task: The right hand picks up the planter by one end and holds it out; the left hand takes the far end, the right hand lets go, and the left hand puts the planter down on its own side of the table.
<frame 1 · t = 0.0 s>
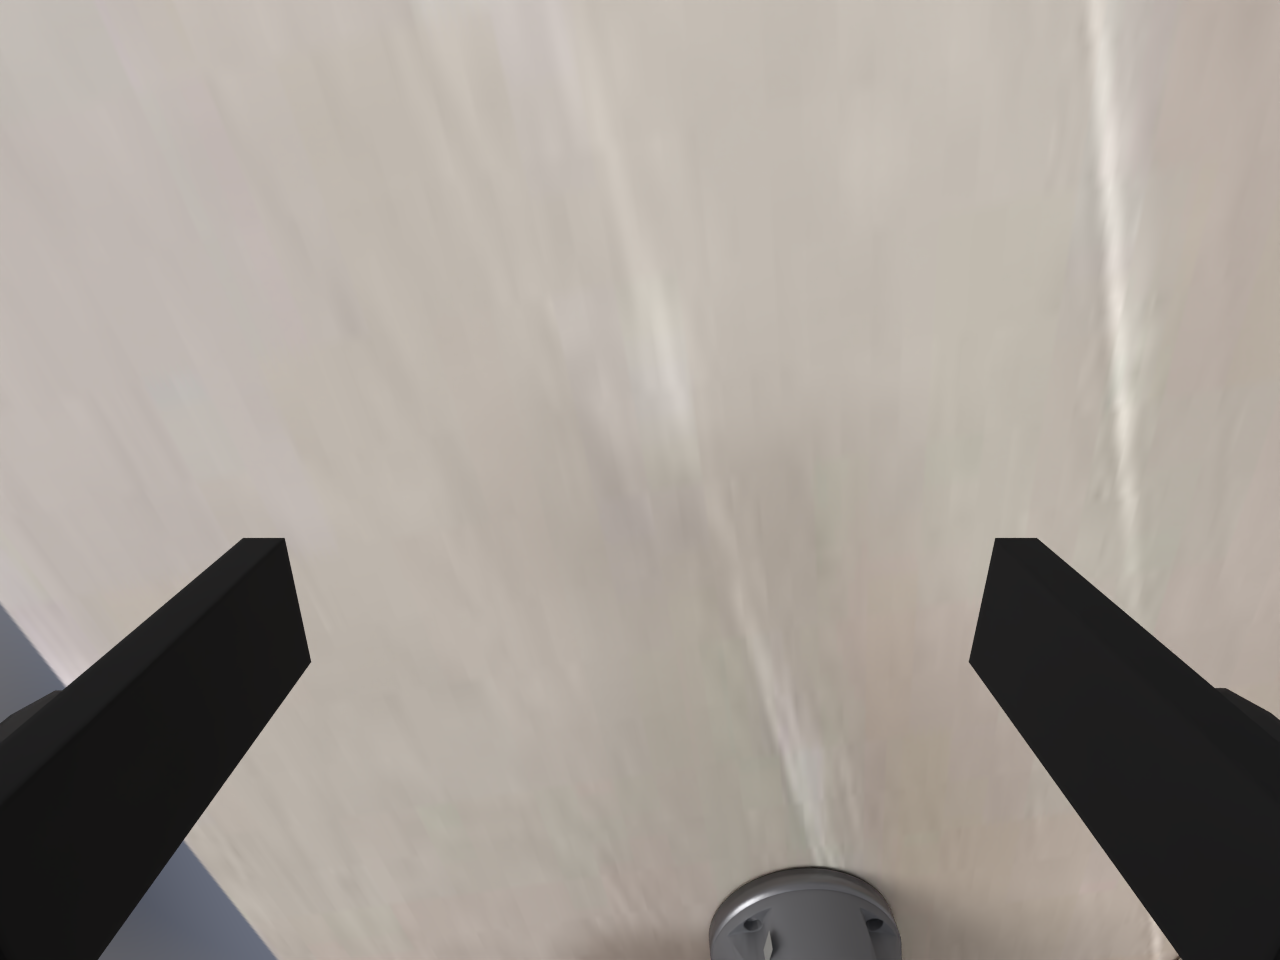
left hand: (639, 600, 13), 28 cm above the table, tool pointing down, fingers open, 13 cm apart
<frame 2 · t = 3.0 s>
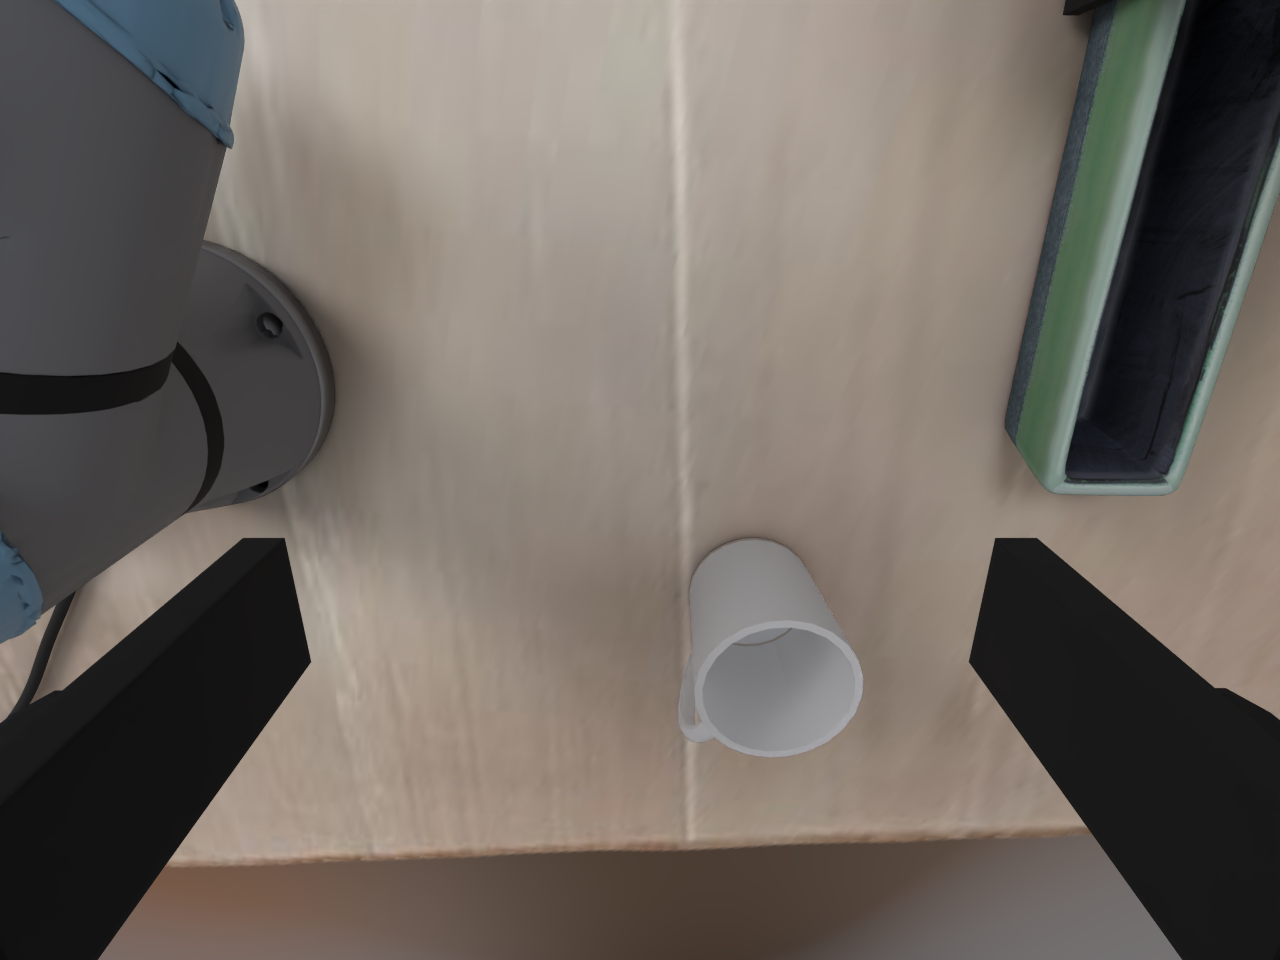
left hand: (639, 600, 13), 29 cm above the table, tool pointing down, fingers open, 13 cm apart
planter: (1096, 211, 37), on the table, touching right hand
mug: (736, 597, 46), on the table
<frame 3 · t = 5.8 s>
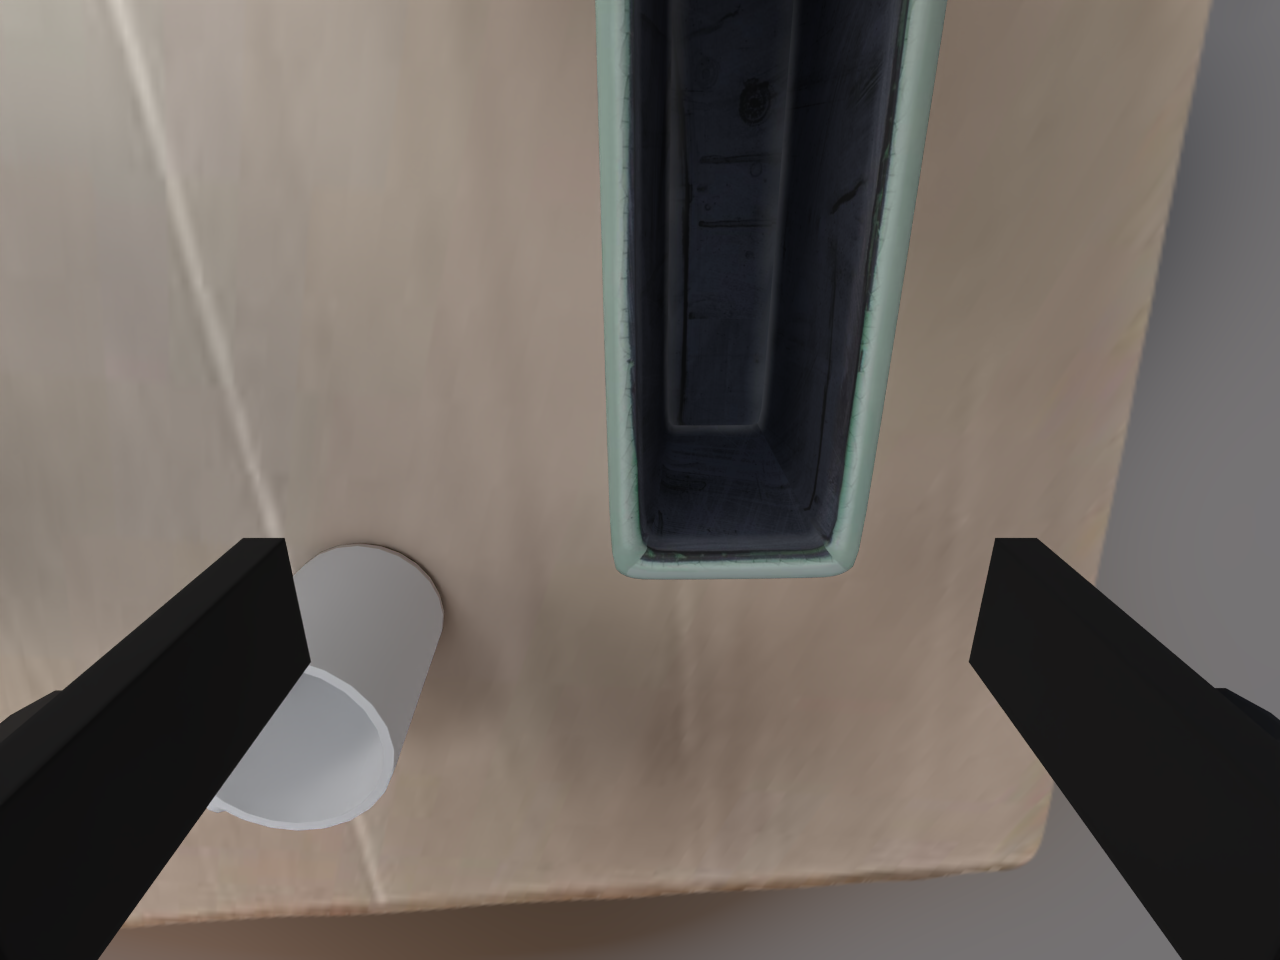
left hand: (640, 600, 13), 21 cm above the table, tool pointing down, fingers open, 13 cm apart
planter: (727, 56, 20), point 9 cm above the table, touching right hand
mug: (359, 616, 38), on the table
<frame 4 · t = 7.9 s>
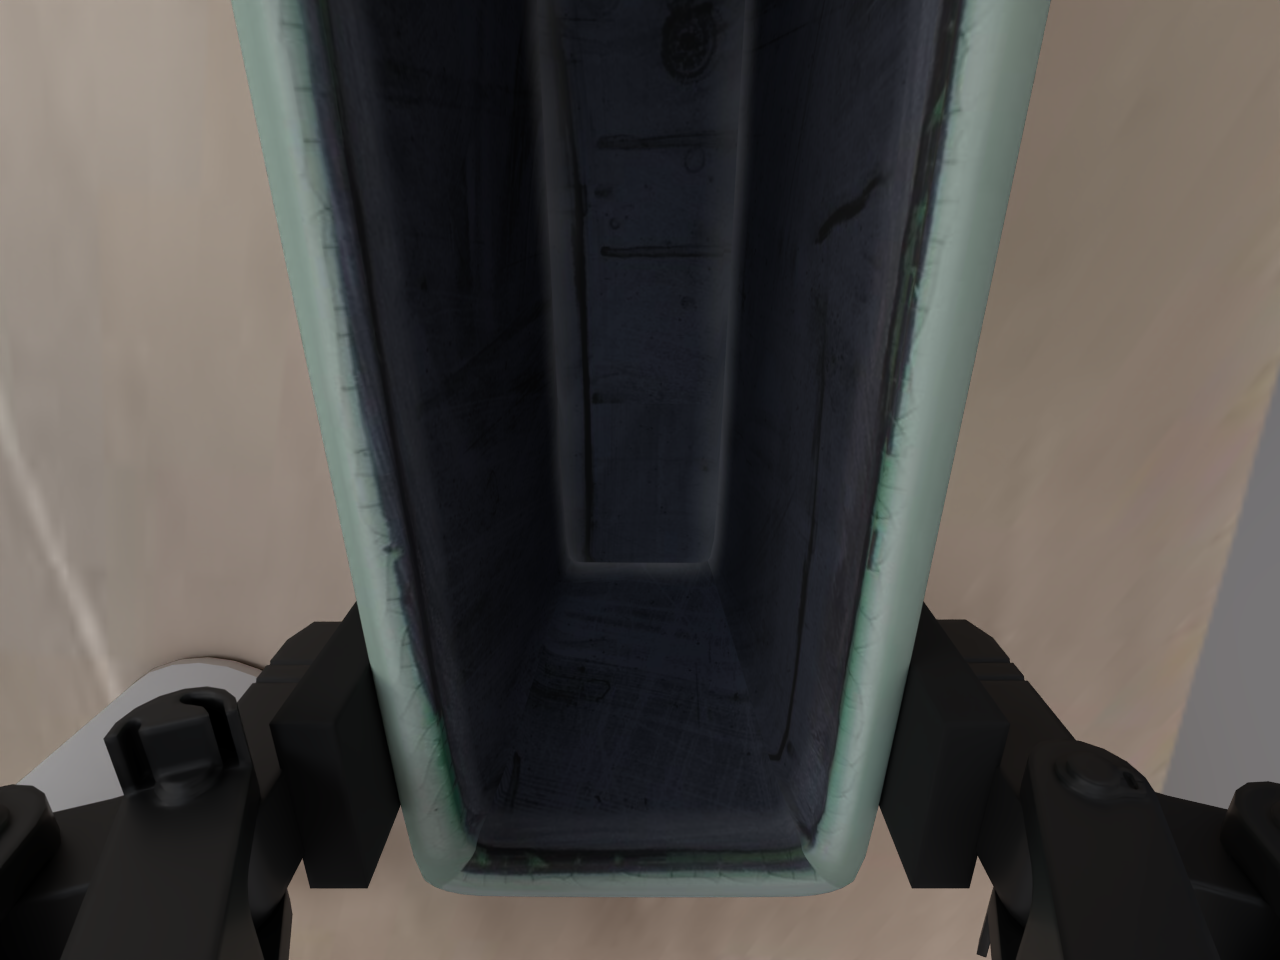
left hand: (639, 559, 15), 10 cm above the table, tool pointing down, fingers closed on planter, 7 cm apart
mug: (214, 744, 29), on the table
when the right hand's fingers open (10 cm above the table, at t = 8.7 s): planter stays where it is, held by the left hand.
when the left hand's fingers open (2 cm above the table, at t = 16.9 s): planter stays where it is, on the table.
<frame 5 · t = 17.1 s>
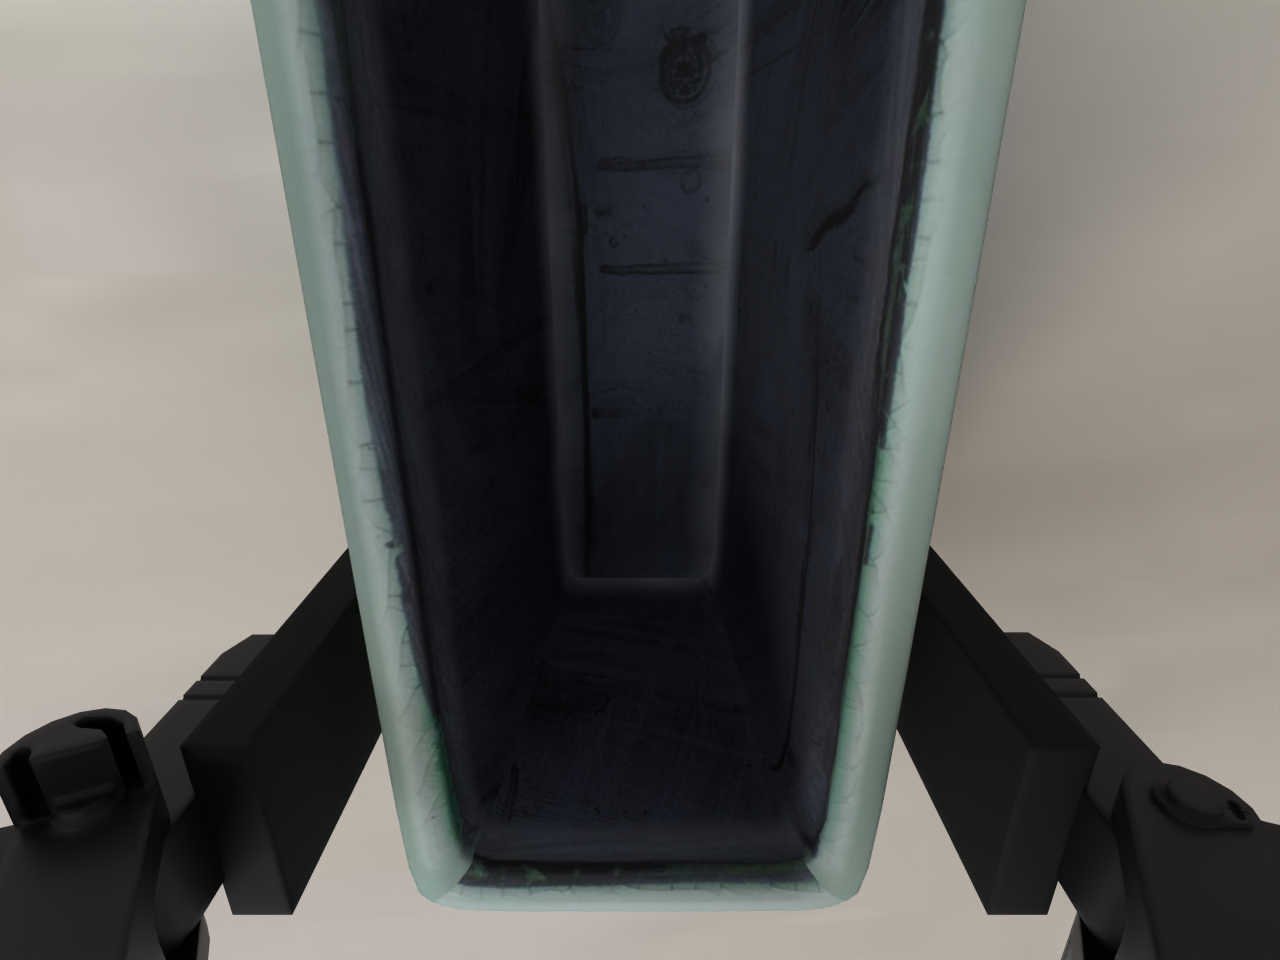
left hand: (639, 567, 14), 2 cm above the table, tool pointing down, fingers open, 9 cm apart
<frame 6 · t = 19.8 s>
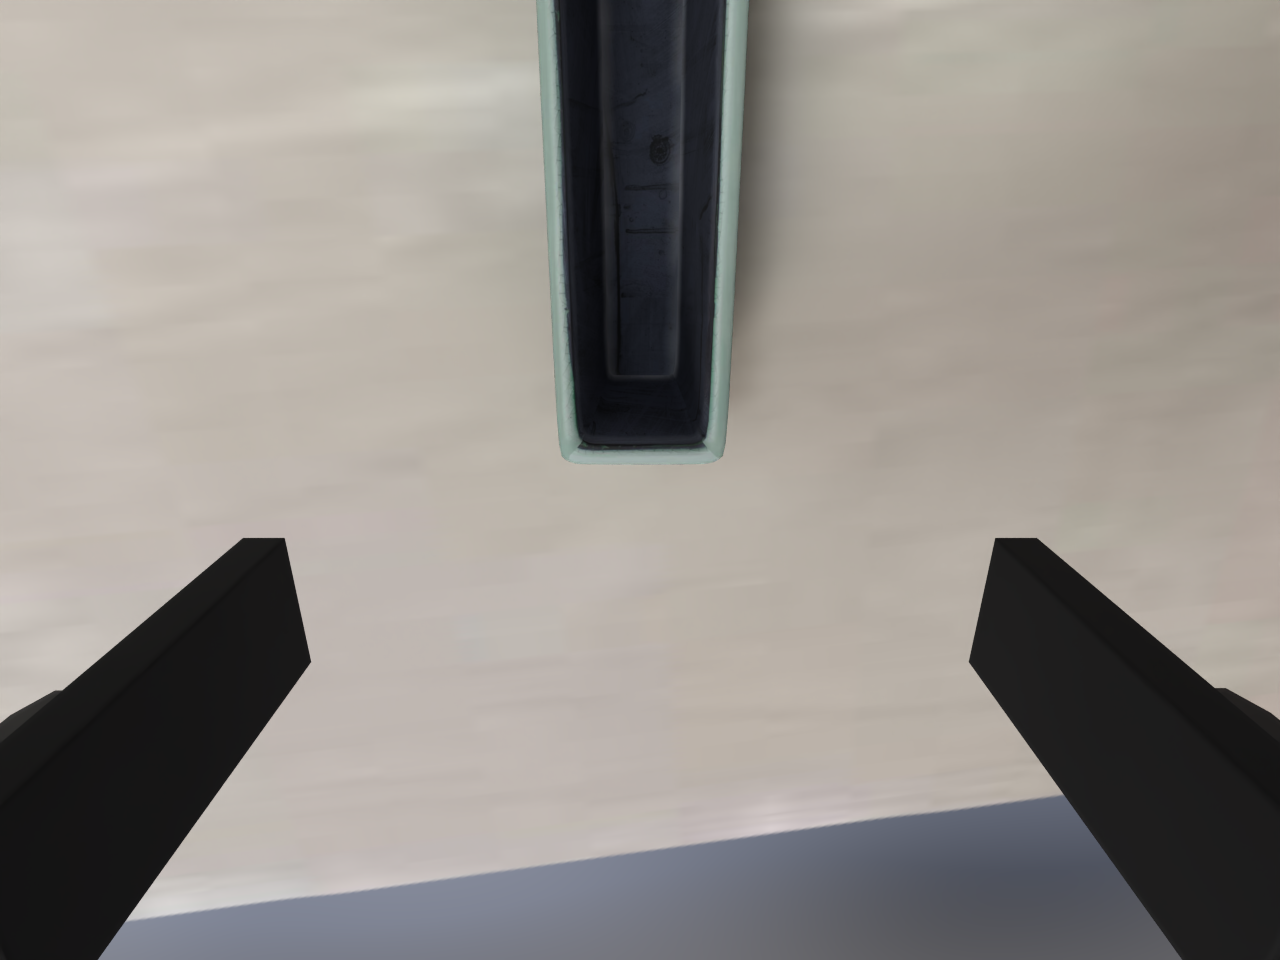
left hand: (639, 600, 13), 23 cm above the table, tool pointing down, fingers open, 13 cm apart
planter: (641, 120, 31), on the table
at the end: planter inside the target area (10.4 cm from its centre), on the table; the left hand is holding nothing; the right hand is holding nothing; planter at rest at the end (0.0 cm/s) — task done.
